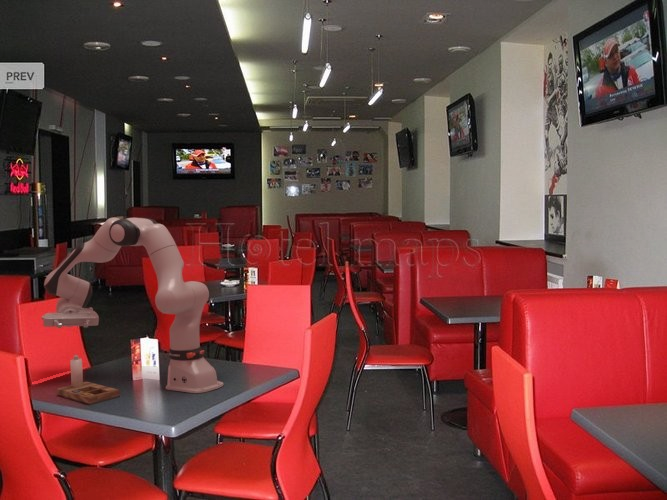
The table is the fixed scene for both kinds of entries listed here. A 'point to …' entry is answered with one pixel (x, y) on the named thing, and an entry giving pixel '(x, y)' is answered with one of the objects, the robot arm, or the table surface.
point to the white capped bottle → (76, 372)
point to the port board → (88, 393)
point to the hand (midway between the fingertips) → (72, 325)
